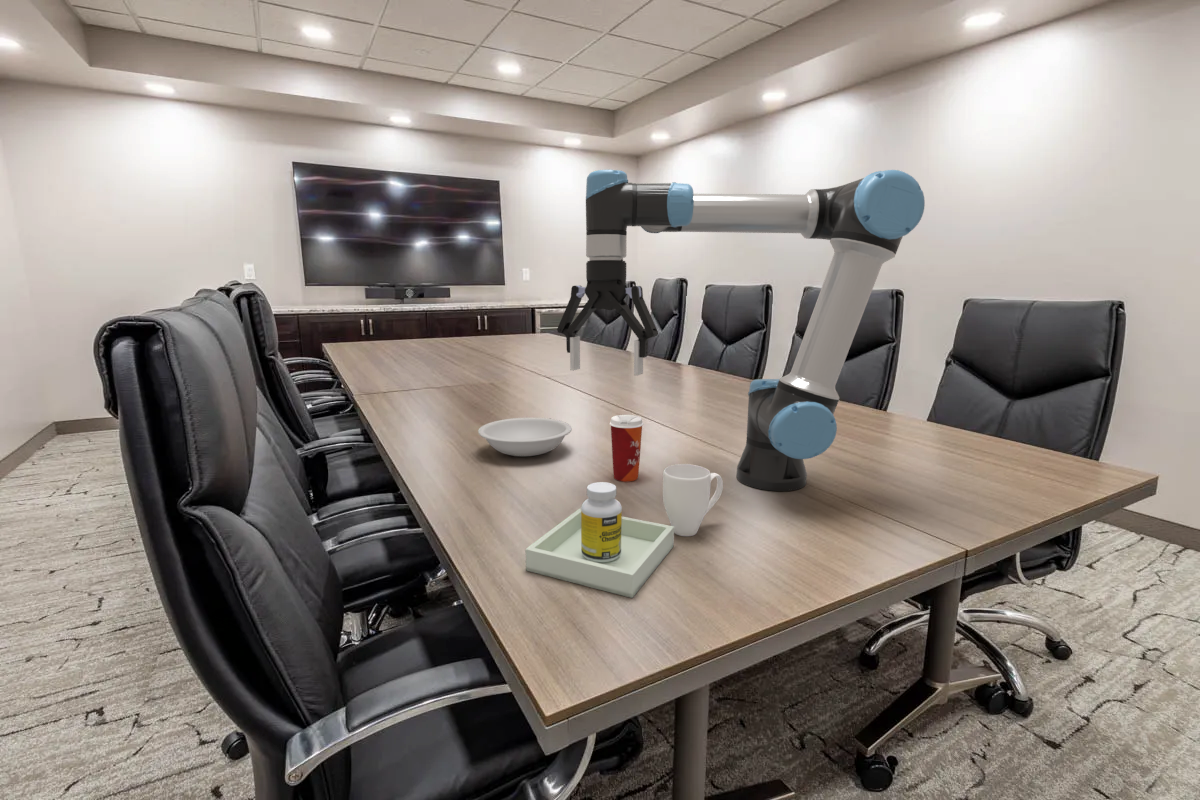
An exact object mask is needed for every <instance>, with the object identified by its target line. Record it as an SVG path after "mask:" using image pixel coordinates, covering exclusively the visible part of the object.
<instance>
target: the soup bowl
mask: <svg viewBox="0 0 1200 800" xmlns="http://www.w3.org/2000/svg"><path fill="white" fill-rule="evenodd" d="M572 427H573V426H572V425H571V424H569V423H567V421H566V422H565V421H562V420H559V419H555V418H548V417H547V418H546V417H513V418H505V419H501V420H495V421H491V422H488V423H486V424H483V425H482V426H480V427H479V429H478V430H477V432H478V435H479V436H480V437H481V438H483V439H485V440H486V442H487V443H488V444H489V445H490V446H491V447H492V448H493V449H494V450H496V451H497V452H500V453H502V454H505V455H508V456H514V457H532V456H533V457H534V456H539V455H543V454H547V453H549V452H550V451H552V450H554V449H555V448H558V446H559V445H560V444H561V443H562V442H563V440H564V439H565V437H566V436H567V435H569V434H571V432H572V431H573V428H572Z"/></svg>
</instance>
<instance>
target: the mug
mask: <svg viewBox="0 0 1200 800" xmlns="http://www.w3.org/2000/svg"><path fill="white" fill-rule="evenodd" d="M663 469H664V470H663V473H662V501H663V506H664V508H665V509H664V510H665V512H666V515H667V517H668V518H667V519H668V521H669V523H670V524H669V525H670V526H674V535H677V536H681V537H691V536H692V537H693V536H695V535H697V533H698V531H699V529H700V526H701V524H702V522H703V519H704V517H705V515H707V513H709V511H710V510H711V509H712V508H713V507H714V505H715V504H716V503H717V502H718V500H719V499H720V497H721V496H722V493H723V490H724V481H723V478H722V476H721V475H720V474H718V473H717V472H711V471H710V470H709V469H708V468H706V467H704V466H701V465H697V464H690V463H677V464H672V465H668V466H667V467H665V468H663ZM715 478H716V488H715V492H714V494H713V495H712V496H711V482H712V480H714V479H715ZM710 497H711V498H710Z"/></svg>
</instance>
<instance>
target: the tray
mask: <svg viewBox="0 0 1200 800" xmlns="http://www.w3.org/2000/svg"><path fill="white" fill-rule="evenodd" d="M674 539H675V533H674V526H671V525H670V524H668V525H667V524H663V523H658V522H652V521H648V520H641V519H637V518H633V517H632V518H631V517H627V516H622V526H621V554H620V556H619V557H618V558H617V559H615V560H613V561H609V562H593V561H590V560H588V559H586V558H585V557H584V556H583V555H582V551H581V507H579V508H578V509H577V510H576V511H574V512H572V513H571V514H570V515H569V516H568V517H566V518H565V519H564V520H562V521H561V522H560V523H559V524H557V525H555V526H553V528H552V529H550V530H548V531H547V532H546V533H545V534H543V535H542V536H541V537H540V538H538V539H537V540H536V541H534V542H533V543H532V544H530V545H529V546H528V547H526V548H525V550H524V551H525V572H526V571H527V572H531V573H533V574H534V573H535V574H538V575H542V576H545V577H549V578H550V577H551V578H554V579H558V580H561V581H564V582H569V583H573V584H577V585H580V586H584V587H588V588H592V589H595V590H599V591H604V592H607V593H611V594H615V595H619V596H622V597H626V598H630V599H633V598H634V597H635V596H636V594H637V593H638V592H639V591H640V589H642V587H643V585H645V582H647V580H648V579H649V578H650V577H651V575H652V574H653V573H654V572H655V570H656V569H657V568H658V566H659V565H660V564H661V563H662V561H663V560H664V559H665V558H666V557H667V555H668V554H669V552H671V550H672V549H673V548H674V546H675V545H674V544H675V543H674V542H675V541H674Z"/></svg>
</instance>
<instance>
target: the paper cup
mask: <svg viewBox="0 0 1200 800" xmlns="http://www.w3.org/2000/svg"><path fill="white" fill-rule="evenodd" d="M608 424H609V425H610V433H611V434H610V435H611V436H610V437H611V451H612V453H611V456H612V471H613V478H614V479H615V480H616V481H619V482H625V483H628V482H635V481H637V480H639V479H638V478H639V471H640V459H641V448H642V434H643V432H642V431H643V426H644V425H645V424H644V422H643V418H642V417H641V416H639V415H633V414H619V415H614V416H612V417H611V418H610V422H609V423H608Z"/></svg>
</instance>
